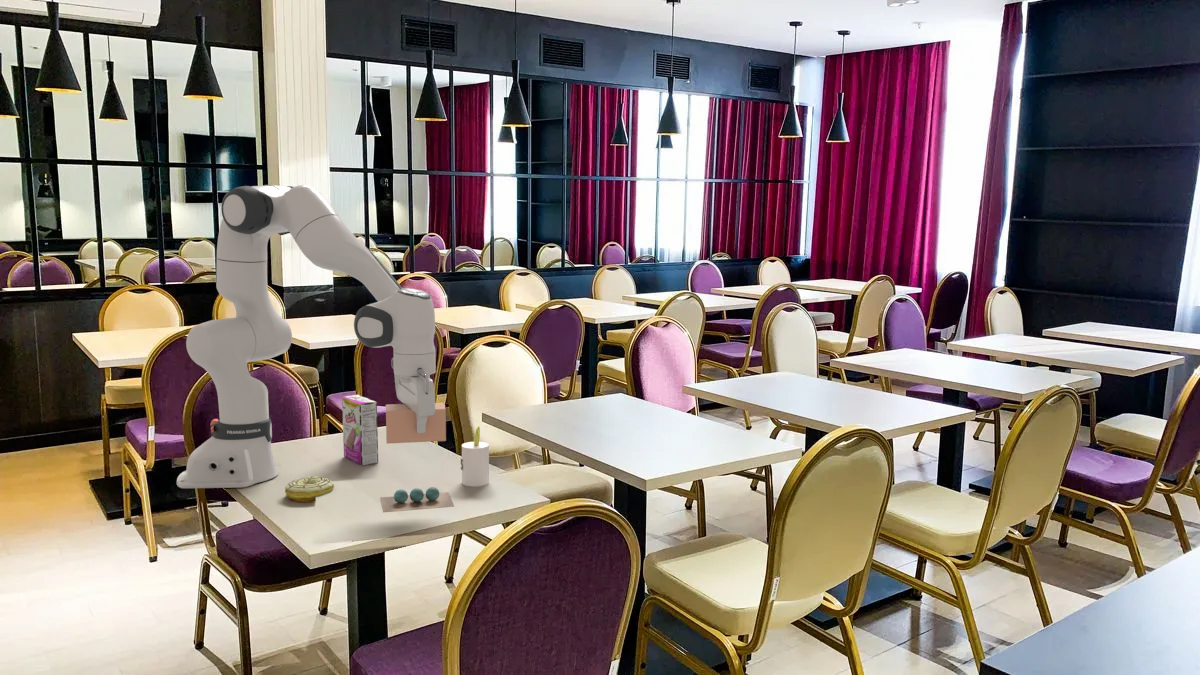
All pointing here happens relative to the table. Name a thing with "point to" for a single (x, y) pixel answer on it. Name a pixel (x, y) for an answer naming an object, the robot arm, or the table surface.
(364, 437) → the candy bar box
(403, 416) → the peach brick
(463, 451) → the candle
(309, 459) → the table surface
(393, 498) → the marble board
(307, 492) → the decorated donut
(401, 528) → the table surface
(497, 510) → the table surface
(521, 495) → the table surface
